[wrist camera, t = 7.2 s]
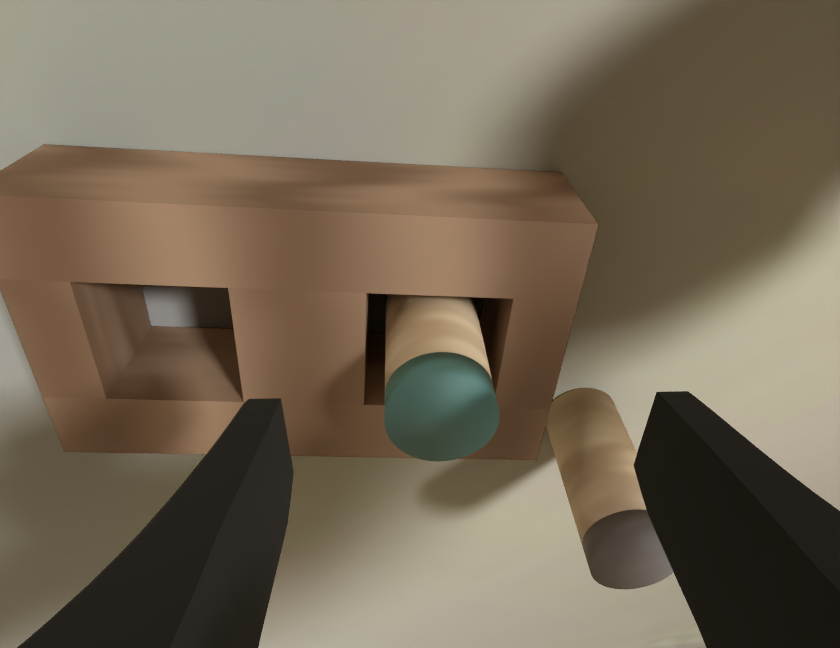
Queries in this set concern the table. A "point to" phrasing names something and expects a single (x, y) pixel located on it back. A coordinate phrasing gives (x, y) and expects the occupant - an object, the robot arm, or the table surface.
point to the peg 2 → (605, 490)
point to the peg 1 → (437, 378)
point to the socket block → (276, 289)
